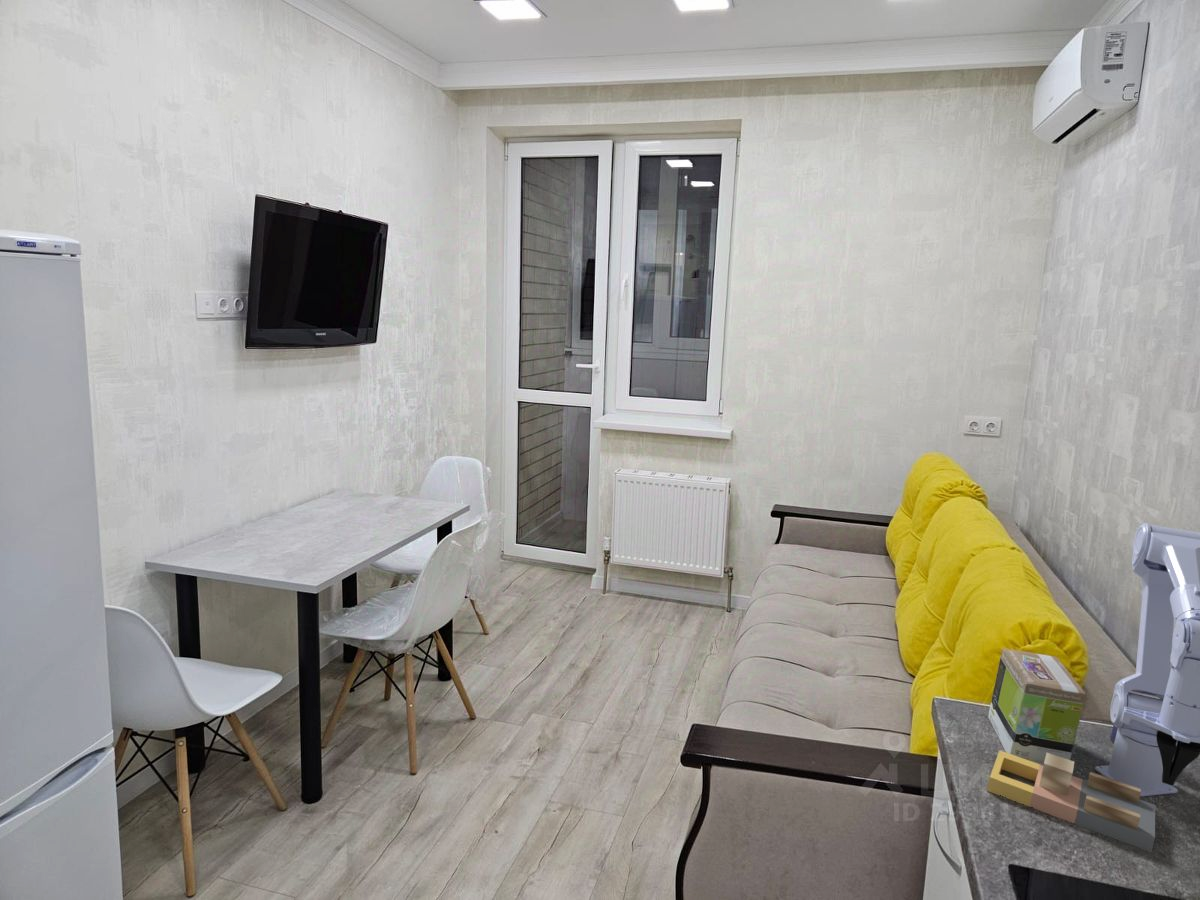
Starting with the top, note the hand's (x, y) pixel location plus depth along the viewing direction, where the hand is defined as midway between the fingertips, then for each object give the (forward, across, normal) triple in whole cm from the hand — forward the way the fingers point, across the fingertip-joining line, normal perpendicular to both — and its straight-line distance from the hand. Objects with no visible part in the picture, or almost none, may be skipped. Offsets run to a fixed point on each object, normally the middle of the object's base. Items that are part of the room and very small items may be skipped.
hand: (1167, 781), depth 122 cm
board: (+9, -12, 0) cm, 15 cm away
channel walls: (+7, -6, 0) cm, 9 cm away
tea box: (+10, -20, +16) cm, 27 cm away
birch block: (+7, -14, 0) cm, 16 cm away
